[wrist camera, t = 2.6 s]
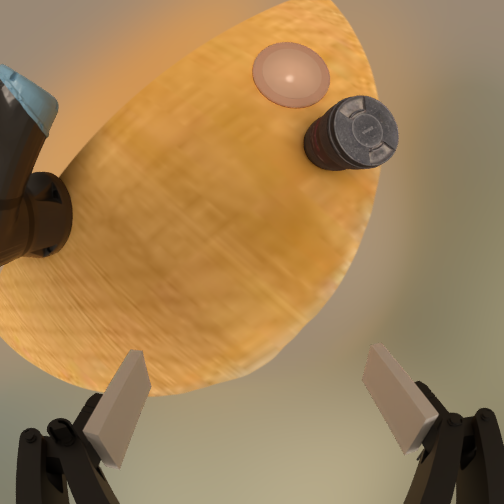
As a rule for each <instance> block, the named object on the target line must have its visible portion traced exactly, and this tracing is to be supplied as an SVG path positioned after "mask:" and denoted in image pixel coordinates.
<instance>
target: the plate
mask: <svg viewBox="0 0 504 504" xmlns="http://www.w3.org/2000/svg"><path fill="white" fill-rule="evenodd" d="M253 79H254V82H255V84H256V86H257V88H258V89H259V91H260V92H261V93H262V94H263V95H264V96H265V97H266V98H267V99H269V100H270V101H272V102H274V103H276V104H278V105H281V106H284V107H288V108H304V107H308V106H311V105H313V104H315V103H316V102H318V101H319V100H320V99H321V98H322V97H323V96H324V95H325V94H326V92H327V90H328V88H329V84H330V75H329V70H328V68H327V66H326V64H325V62H324V61H323V59H322V58H321V57H320V56H319V55H318V54H317V53H316V52H314V51H313V50H311V49H310V48H308V47H306V46H303V45H301V44H297V43H290V42H282V43H276V44H273V45H271V46H268V47H267V48H265V49H264V50H262V51H261V52H260V53H259V54H258V56H257V57H256V59H255V61H254V65H253Z"/></svg>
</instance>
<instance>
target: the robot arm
mask: <svg viewBox="0 0 504 504" xmlns="http://www.w3.org/2000/svg"><path fill="white" fill-rule="evenodd" d="M57 112H58V102H57V100H56V99H55V97H53V96H52V95H51V94H49V93H48V92H47V91H45V90H44V89H42V88H41V87H39V86H37V85H36V84H35V83H33V82H32V81H30V80H28V79H27V78H25V77H24V76H22V75H20V74H19V73H17V72H15V71H14V70H12V69H11V68H9V67H7V66H6V65H4V64H1V65H0V266H2V265H4V264H7V263H9V262H11V261H13V260H15V259H17V258H19V257H22V256H23V257H34V258H44V257H48V256H50V255H52V254H54V253H56V252H58V251H59V250H60V249H61V248H62V247H63V246H64V244H65V243H66V241H67V239H68V236H69V233H70V230H71V225H72V205H71V200H70V196H69V193H68V191H67V189H66V187H65V185H64V184H63V182H62V181H61V180H60V179H59V178H58V177H57V176H56V175H54V174H52V173H49V172H35V173H32V170H33V167H34V165H35V162H36V160H37V158H38V155H39V152H40V150H41V148H42V146H43V144H44V141H45V139H46V137H48V136H49V130H50V128H51V126H52V123H53V121H54V119H55V117H56V115H57ZM362 381H363V383H364V384H365V386H366V388H367V389H368V391H369V393H370V395H371V396H372V398H373V400H374V401H375V403H376V405H377V407H378V409H379V410H380V412H381V414H382V415H383V417H384V419H385V421H386V423H387V424H388V426H389V428H390V430H391V432H392V433H393V435H394V437H395V439H396V441H397V442H398V444H399V446H400V448H401V449H402V451H403V453H404V455H406V454H409V453H412V452H414V451H417V450H418V448H419V447H420V445H421V444H423V446H424V449H423V451H422V452H421V454H420V455H419V457H418V458H417V460H419V459H420V461H419V464H418V467H417V470H416V473H415V475H414V478H413V481H412V484H411V486H410V489H409V492H408V494H407V497H406V499H405V501H404V504H450V503H451V500H452V496H453V492H454V487H455V484H456V504H504V445H503V441H502V438H501V433H500V430H499V426H498V423H497V419H496V416H495V414H494V412H493V411H492V410H490V409H488V408H481V409H479V410H478V411H477V413H476V414H475V416H473V417H466V418H463V417H462V416H461V415H459V414H457V413H449V412H448V411H447V410H446V409H445V407H444V406H443V405H442V404H441V402H440V401H439V400H438V399H437V397H435V395H434V394H433V393H432V392H431V390H430V389H429V388H428V386H427V385H425V384H424V383H422V382H420V381H417V382H413V380H412V379H411V378H410V377H409V375H408V374H407V373H406V372H405V370H404V369H403V368H402V367H401V366H400V365H399V363H398V362H397V361H396V360H395V358H394V357H393V356H392V355H391V353H390V352H389V351H388V350H387V349H386V348H385V346H384V345H383V344H382V343H377V344H371V345H370V350H369V354H368V358H367V362H366V366H365V370H364V374H363V378H362ZM150 389H151V384H150V380H149V376H148V372H147V368H146V364H145V360H144V356H143V351H139V350H130V351H129V353H128V354H127V356H126V358H125V359H124V361H123V362H122V364H121V366H120V367H119V369H118V371H117V372H116V374H115V375H114V377H113V379H112V380H111V382H110V384H109V385H108V387H107V389H106V391H105V392H104V394H99V393H95V394H94V395H92V396H91V397H90V398H89V399H88V400H87V402H86V404H85V406H84V407H83V408H82V410H81V412H80V413H79V415H78V417H77V418H76V420H75V422H74V423H73V425H72V424H71V422H70V421H68V420H67V419H63V418H58V419H55V420H52V421H51V422H50V423H49V425H48V426H47V432H48V434H49V435H50V437H48V436H42V435H41V433H40V432H39V431H38V430H37V429H35V428H28V429H26V430H24V431H23V432H22V433H21V435H20V440H19V448H18V458H17V472H16V504H69V497H68V489H67V482H68V485H69V487H70V489H71V492H72V495H73V497H74V499H75V502H76V504H120V503H119V502H118V500H117V498H116V497H115V495H114V493H113V491H112V489H111V487H110V485H109V484H108V482H107V480H106V478H105V476H104V474H103V472H102V470H101V468H100V467H99V463H100V461H101V460H102V462H103V463H104V465H105V466H108V467H111V468H115V469H118V470H120V468H121V464H122V462H123V459H124V456H125V453H126V451H127V448H128V445H129V442H130V440H131V437H132V435H133V432H134V429H135V427H136V424H137V422H138V419H139V416H140V414H141V411H142V409H143V406H144V404H145V401H146V399H147V396H148V394H149V391H150Z"/></svg>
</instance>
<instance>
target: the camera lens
mask: <svg viewBox="0 0 504 504" xmlns="http://www.w3.org/2000/svg"><path fill="white" fill-rule="evenodd" d="M398 139H399V136H398V127H397V124H396V122H395V119H394V117H393V115H392V114H391V112H390V111H389V110H388V108H387V107H386V106H385V105H383V104H382V103H381V102H380V101H378V100H376V99H374V98H371V97H369V96H354V97H348V98H345V99H343V100H341V101H339V102H338V103H337V104H335V105H334V106H333V107H331V108H330V109H329V110H328V111H327V112H326V113H325V114H324V115H323V116H322V117H320V118H318V119H317V120H316V121H315V122H313V123H312V124H311V126H310V127H309V129H308V130H307V132H306V134H305V137H304V149H305V152H306V155H307V156H308V158H309V159H310V160H311V161H312V162H313V163H314V164H315V165H316V166H318V167H320V168H322V169H326V170H331V171H340V170H345V169H370V168H375V167H377V166H379V165H381V164H383V163H385V162H386V161H388V160H389V159H390V158H391V157H392V155H393V154H394V152H395V151H396V148H397V145H398Z"/></svg>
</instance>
